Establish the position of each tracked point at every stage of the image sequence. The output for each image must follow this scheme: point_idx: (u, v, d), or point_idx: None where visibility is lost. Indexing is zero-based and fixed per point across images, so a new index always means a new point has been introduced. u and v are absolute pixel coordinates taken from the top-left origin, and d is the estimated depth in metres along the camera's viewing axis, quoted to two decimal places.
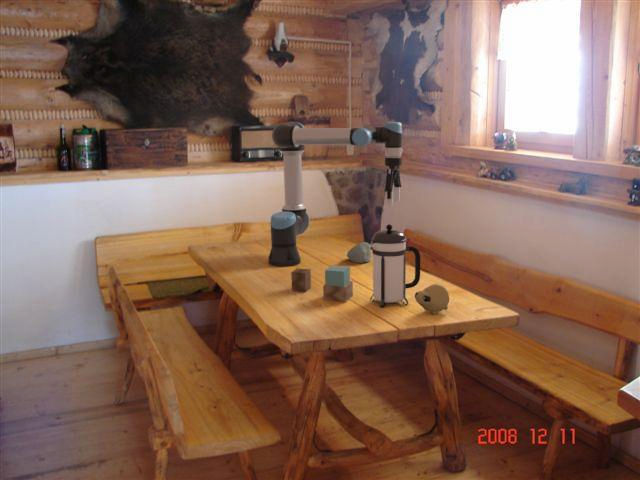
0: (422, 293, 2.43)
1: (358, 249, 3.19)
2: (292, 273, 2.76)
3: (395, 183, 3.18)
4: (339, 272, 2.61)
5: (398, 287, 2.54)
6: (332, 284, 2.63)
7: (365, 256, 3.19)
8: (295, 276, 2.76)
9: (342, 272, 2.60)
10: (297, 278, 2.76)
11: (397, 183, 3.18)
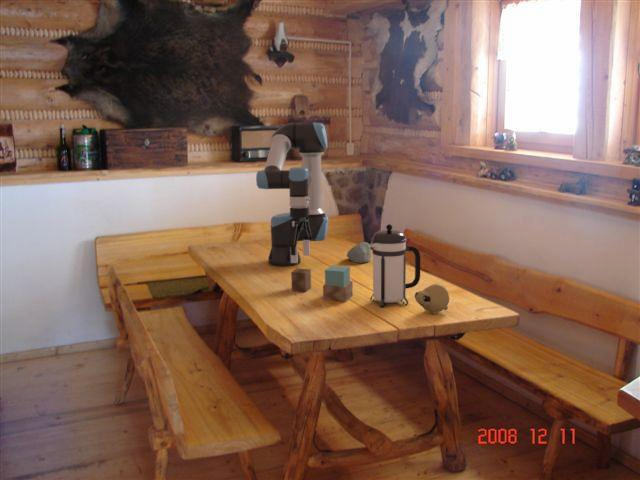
0: (422, 293, 2.43)
1: (358, 249, 3.19)
2: (292, 273, 2.76)
3: (304, 235, 2.80)
4: (339, 272, 2.61)
5: (398, 287, 2.54)
6: (332, 284, 2.63)
7: (365, 256, 3.19)
8: (295, 276, 2.76)
9: (342, 272, 2.60)
10: (297, 278, 2.76)
11: (306, 235, 2.80)
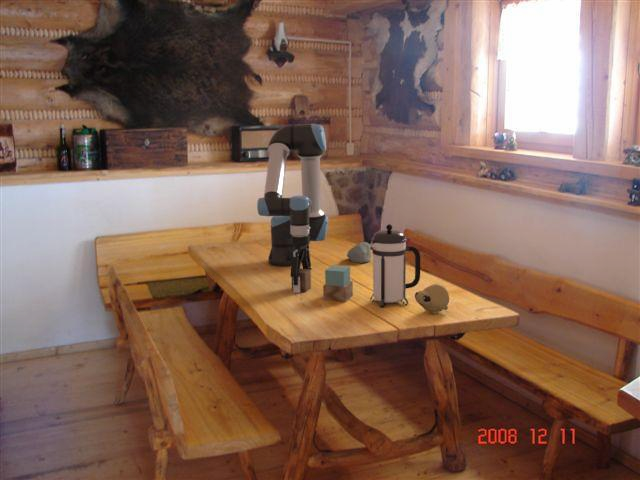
0: (422, 293, 2.43)
1: (358, 249, 3.19)
2: None
3: (304, 265, 2.82)
4: (339, 272, 2.61)
5: (398, 287, 2.54)
6: (332, 284, 2.63)
7: (365, 256, 3.19)
8: None
9: (342, 272, 2.60)
10: None
11: (306, 265, 2.81)
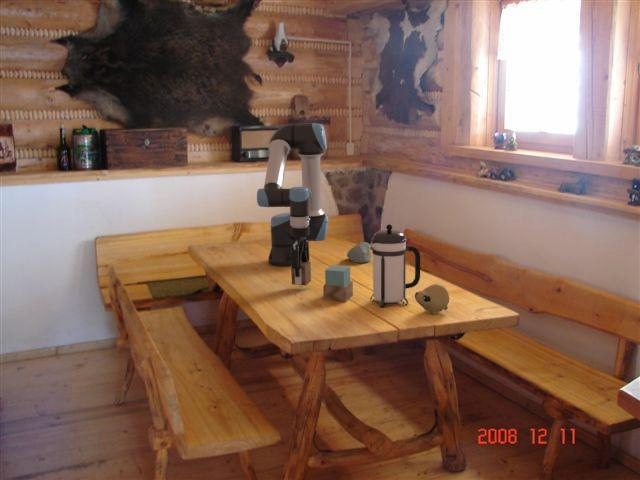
0: (422, 293, 2.43)
1: (358, 249, 3.19)
2: None
3: (302, 258, 2.80)
4: (339, 272, 2.61)
5: (398, 287, 2.54)
6: (332, 284, 2.63)
7: (365, 256, 3.19)
8: None
9: (342, 272, 2.60)
10: None
11: (304, 258, 2.80)
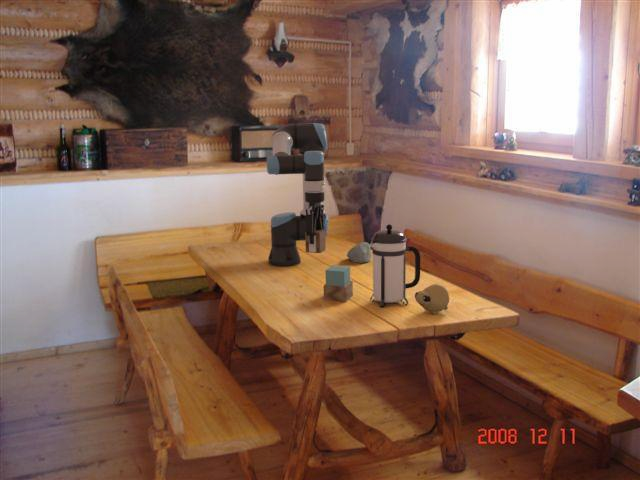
0: (422, 293, 2.43)
1: (358, 249, 3.19)
2: None
3: (317, 226, 2.71)
4: (339, 272, 2.61)
5: (398, 287, 2.54)
6: (332, 284, 2.63)
7: (365, 256, 3.19)
8: None
9: (342, 272, 2.60)
10: None
11: (319, 226, 2.71)
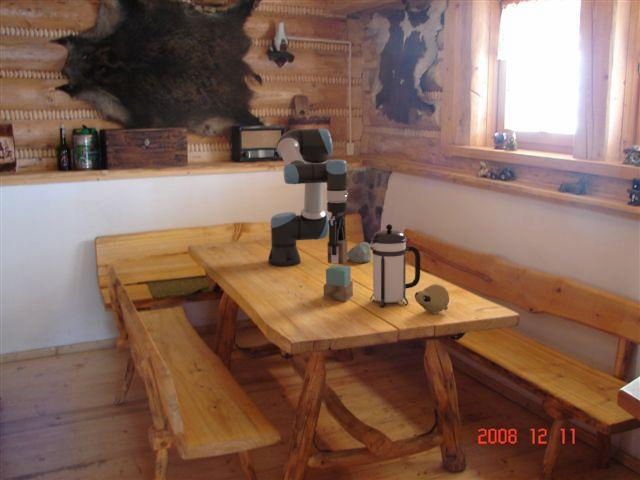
0: (422, 293, 2.43)
1: (358, 249, 3.19)
2: (328, 244, 2.60)
3: (339, 236, 2.65)
4: (340, 272, 2.61)
5: (398, 287, 2.54)
6: (333, 284, 2.63)
7: (365, 256, 3.19)
8: None
9: (343, 272, 2.61)
10: None
11: (341, 236, 2.65)
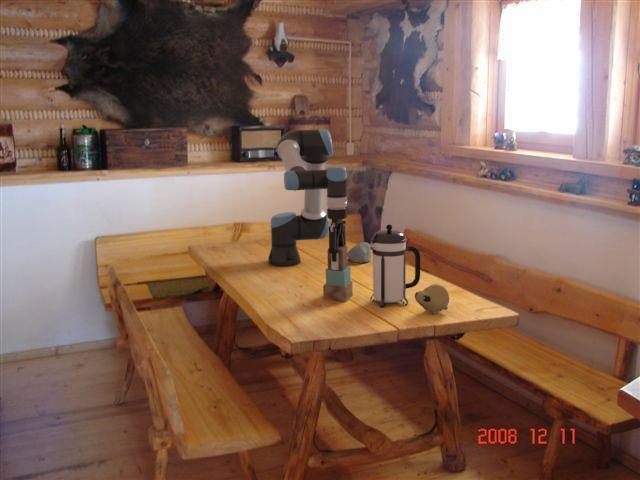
0: (422, 293, 2.43)
1: (358, 249, 3.19)
2: (328, 250, 2.61)
3: (339, 242, 2.66)
4: (340, 272, 2.61)
5: (398, 287, 2.54)
6: (333, 284, 2.63)
7: (365, 256, 3.19)
8: None
9: (343, 272, 2.61)
10: None
11: (341, 242, 2.65)
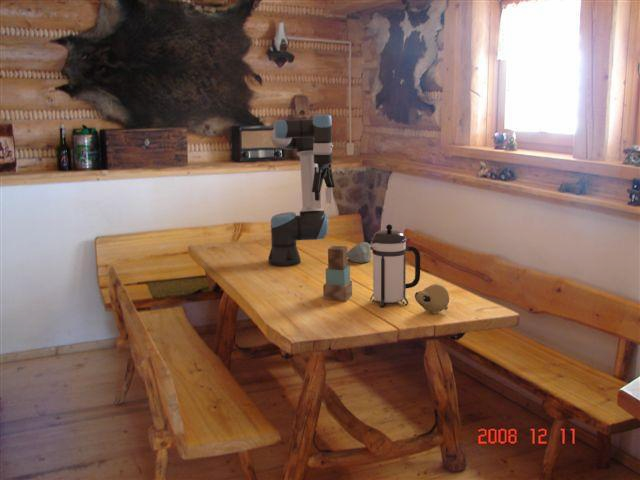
0: (422, 293, 2.43)
1: (358, 249, 3.19)
2: (329, 250, 2.62)
3: (327, 183, 2.85)
4: (340, 271, 2.62)
5: (398, 287, 2.54)
6: (333, 283, 2.64)
7: (365, 256, 3.19)
8: (332, 253, 2.61)
9: (343, 271, 2.62)
10: (334, 256, 2.61)
11: (329, 183, 2.85)
